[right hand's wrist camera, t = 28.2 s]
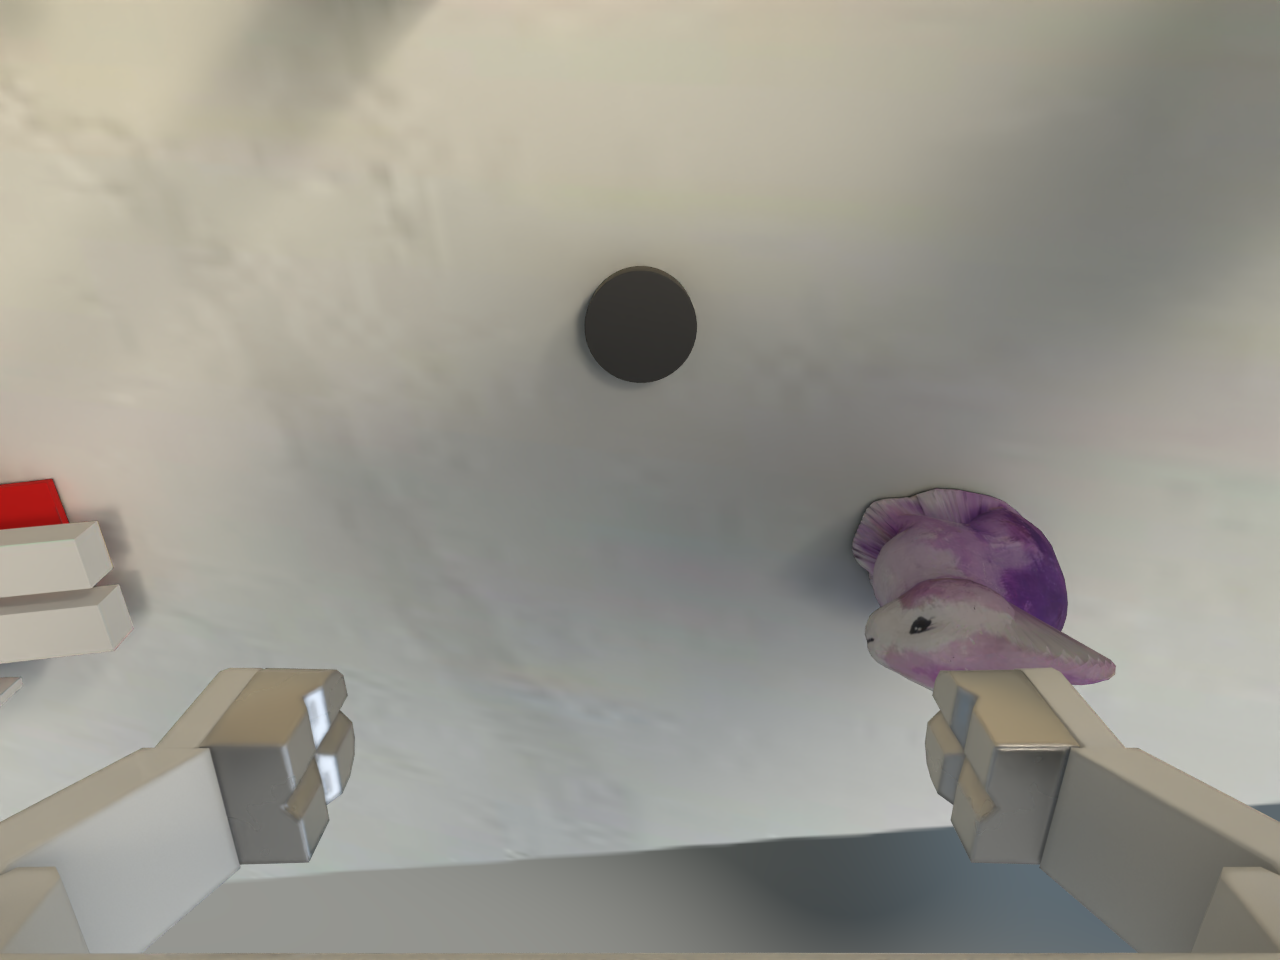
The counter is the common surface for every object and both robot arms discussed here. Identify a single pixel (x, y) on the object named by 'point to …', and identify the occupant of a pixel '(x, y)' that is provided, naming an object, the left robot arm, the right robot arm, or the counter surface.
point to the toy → (52, 582)
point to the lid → (640, 324)
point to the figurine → (966, 590)
